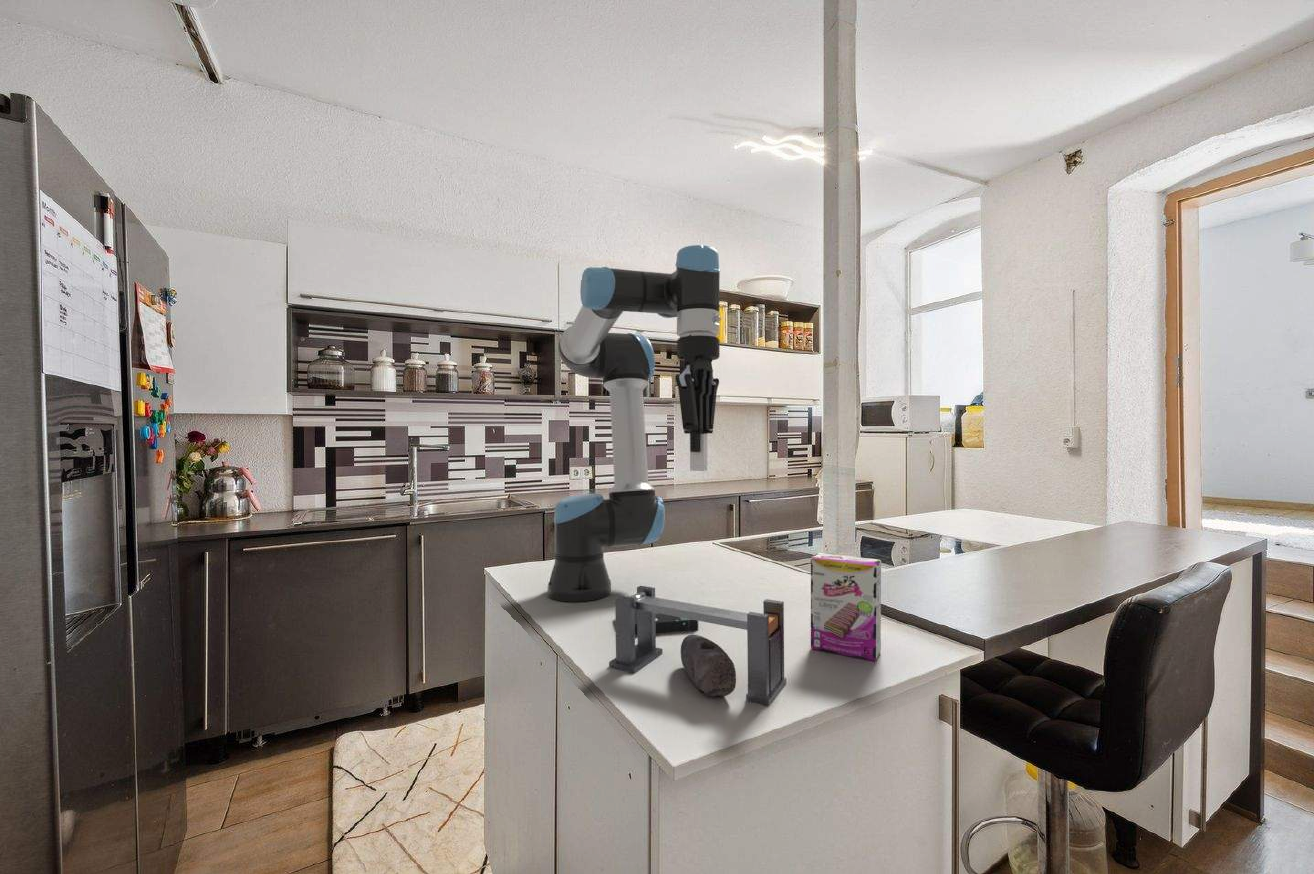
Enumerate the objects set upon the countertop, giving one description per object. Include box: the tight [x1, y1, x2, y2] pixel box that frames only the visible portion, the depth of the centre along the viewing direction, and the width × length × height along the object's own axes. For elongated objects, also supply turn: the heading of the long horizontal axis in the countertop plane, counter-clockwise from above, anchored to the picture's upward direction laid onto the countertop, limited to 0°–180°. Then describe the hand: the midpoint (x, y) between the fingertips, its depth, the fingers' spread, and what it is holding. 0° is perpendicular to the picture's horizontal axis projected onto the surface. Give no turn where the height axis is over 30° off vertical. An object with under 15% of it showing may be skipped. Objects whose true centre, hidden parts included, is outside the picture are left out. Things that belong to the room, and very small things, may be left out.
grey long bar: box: [630, 592, 778, 635], centre depth 87 cm, size 5×25×2 cm, turn 59°
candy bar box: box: [810, 552, 882, 662], centre depth 96 cm, size 11×5×16 cm, turn 59°
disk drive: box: [635, 609, 699, 636], centre depth 110 cm, size 10×3×15 cm
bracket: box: [608, 585, 664, 674], centre depth 93 cm, size 9×5×12 cm, turn 149°
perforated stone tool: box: [680, 634, 737, 698], centre depth 85 cm, size 15×5×7 cm, turn 17°
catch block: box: [745, 598, 787, 707], centre depth 81 cm, size 8×3×12 cm, turn 149°
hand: (698, 470), depth 98 cm, fingers closed
